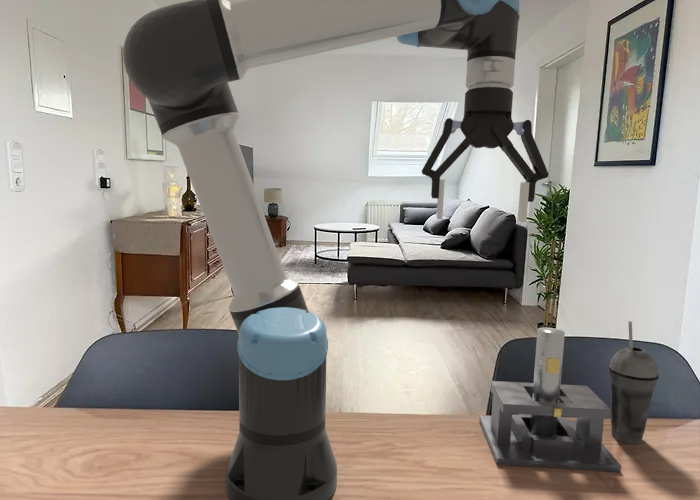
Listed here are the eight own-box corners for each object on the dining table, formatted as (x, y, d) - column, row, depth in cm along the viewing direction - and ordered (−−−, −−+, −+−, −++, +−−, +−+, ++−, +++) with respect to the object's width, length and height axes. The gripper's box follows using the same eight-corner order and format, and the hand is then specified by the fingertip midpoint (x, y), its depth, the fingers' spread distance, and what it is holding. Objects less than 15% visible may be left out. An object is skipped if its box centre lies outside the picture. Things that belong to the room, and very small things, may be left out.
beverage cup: (659, 451, 79) (672, 330, 76) (610, 445, 80) (621, 326, 78) (641, 429, 86) (653, 318, 83) (597, 424, 87) (607, 315, 85)
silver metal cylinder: (526, 431, 82) (534, 326, 80) (551, 432, 82) (559, 328, 80) (534, 444, 78) (542, 334, 76) (559, 445, 78) (569, 335, 75)
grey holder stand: (496, 464, 74) (500, 410, 73) (479, 420, 88) (482, 375, 87) (620, 472, 73) (626, 417, 71) (583, 426, 86) (587, 380, 85)
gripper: (412, 83, 77) (406, 218, 80) (577, 86, 75) (564, 224, 77) (411, 92, 84) (405, 216, 87) (560, 95, 82) (550, 221, 85)
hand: (480, 220), depth 82 cm, fingers open, 13 cm apart
